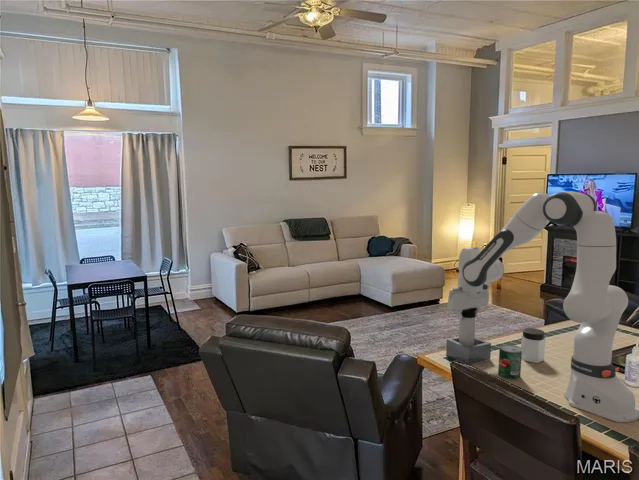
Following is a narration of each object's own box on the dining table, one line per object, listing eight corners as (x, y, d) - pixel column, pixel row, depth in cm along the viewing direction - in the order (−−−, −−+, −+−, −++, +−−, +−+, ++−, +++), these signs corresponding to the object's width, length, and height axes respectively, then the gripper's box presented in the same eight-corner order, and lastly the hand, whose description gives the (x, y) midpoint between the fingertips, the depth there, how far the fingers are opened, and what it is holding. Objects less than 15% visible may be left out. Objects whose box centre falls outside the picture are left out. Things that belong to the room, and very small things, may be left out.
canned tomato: (493, 375, 178) (495, 347, 177) (505, 369, 183) (506, 342, 182) (513, 382, 172) (514, 353, 171) (524, 376, 177) (526, 348, 175)
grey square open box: (490, 359, 193) (491, 343, 192) (468, 365, 188) (468, 348, 187) (467, 349, 204) (468, 334, 203) (446, 354, 199) (446, 339, 198)
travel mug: (475, 357, 193) (477, 310, 190) (458, 356, 194) (460, 309, 192) (473, 352, 199) (475, 306, 197) (457, 351, 200) (459, 305, 198)
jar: (517, 355, 198) (518, 327, 197) (536, 354, 198) (537, 327, 197) (527, 363, 189) (529, 334, 188) (547, 363, 190) (549, 334, 188)
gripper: (455, 290, 185) (454, 324, 187) (492, 284, 195) (490, 316, 197) (444, 287, 191) (443, 320, 193) (480, 281, 200) (479, 313, 202)
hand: (467, 318), depth 195 cm, fingers closed on travel mug, 6 cm apart
